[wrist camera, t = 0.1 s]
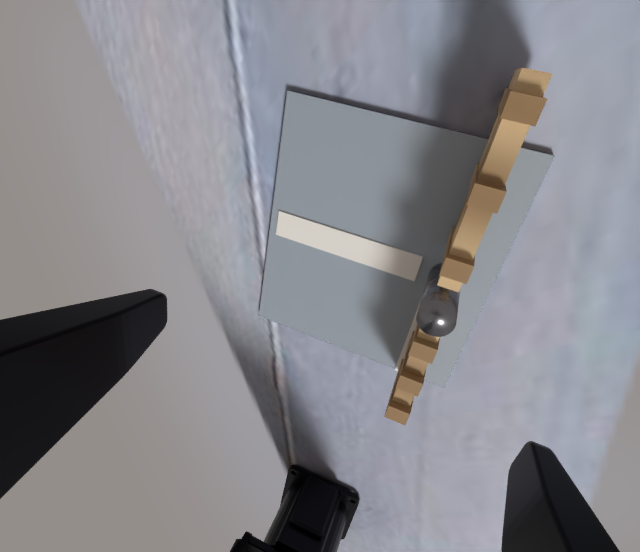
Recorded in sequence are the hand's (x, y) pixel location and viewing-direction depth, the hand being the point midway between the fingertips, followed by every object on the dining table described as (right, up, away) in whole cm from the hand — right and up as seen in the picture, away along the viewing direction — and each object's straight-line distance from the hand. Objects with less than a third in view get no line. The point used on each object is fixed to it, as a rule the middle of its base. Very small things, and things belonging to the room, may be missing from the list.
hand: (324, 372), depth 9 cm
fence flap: (+8, +7, +10) cm, 14 cm away
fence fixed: (+6, -1, +15) cm, 17 cm away
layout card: (+3, +4, +14) cm, 15 cm away
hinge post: (+7, +2, +13) cm, 15 cm away
